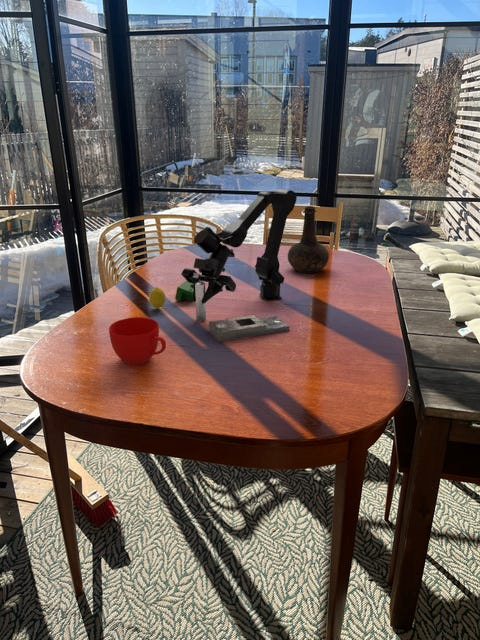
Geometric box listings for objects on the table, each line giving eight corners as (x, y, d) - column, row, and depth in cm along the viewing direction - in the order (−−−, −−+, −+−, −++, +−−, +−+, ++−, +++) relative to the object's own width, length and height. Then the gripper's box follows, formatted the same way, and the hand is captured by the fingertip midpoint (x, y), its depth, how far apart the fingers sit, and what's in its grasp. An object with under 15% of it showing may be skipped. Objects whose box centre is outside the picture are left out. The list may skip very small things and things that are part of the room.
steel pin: (204, 317, 158) (203, 281, 153) (207, 320, 155) (206, 284, 150) (195, 318, 157) (193, 282, 152) (197, 322, 154) (196, 285, 149)
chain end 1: (254, 323, 153) (254, 314, 152) (266, 334, 145) (266, 324, 144) (208, 330, 147) (208, 321, 146) (218, 341, 140) (218, 331, 139)
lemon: (169, 307, 166) (167, 286, 163) (160, 312, 161) (158, 290, 158) (155, 305, 168) (154, 283, 165) (146, 310, 164) (145, 288, 161)
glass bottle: (333, 268, 213) (338, 205, 203) (317, 278, 200) (322, 211, 189) (297, 263, 222) (301, 202, 212) (280, 271, 208) (282, 207, 198)
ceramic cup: (149, 380, 118) (146, 343, 115) (102, 363, 127) (98, 329, 123) (182, 360, 129) (180, 326, 125) (136, 345, 137) (133, 313, 133)
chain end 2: (276, 320, 156) (276, 315, 155) (289, 330, 148) (289, 325, 147) (225, 328, 149) (225, 323, 149) (235, 339, 142) (235, 333, 141)
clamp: (189, 312, 174) (190, 295, 167) (175, 307, 175) (175, 290, 168) (203, 292, 182) (204, 275, 175) (189, 287, 183) (190, 269, 176)
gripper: (183, 244, 155) (163, 285, 150) (231, 251, 146) (211, 295, 141) (198, 262, 164) (179, 301, 159) (244, 270, 155) (226, 312, 150)
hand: (198, 302), depth 152 cm, fingers closed on steel pin, 3 cm apart
